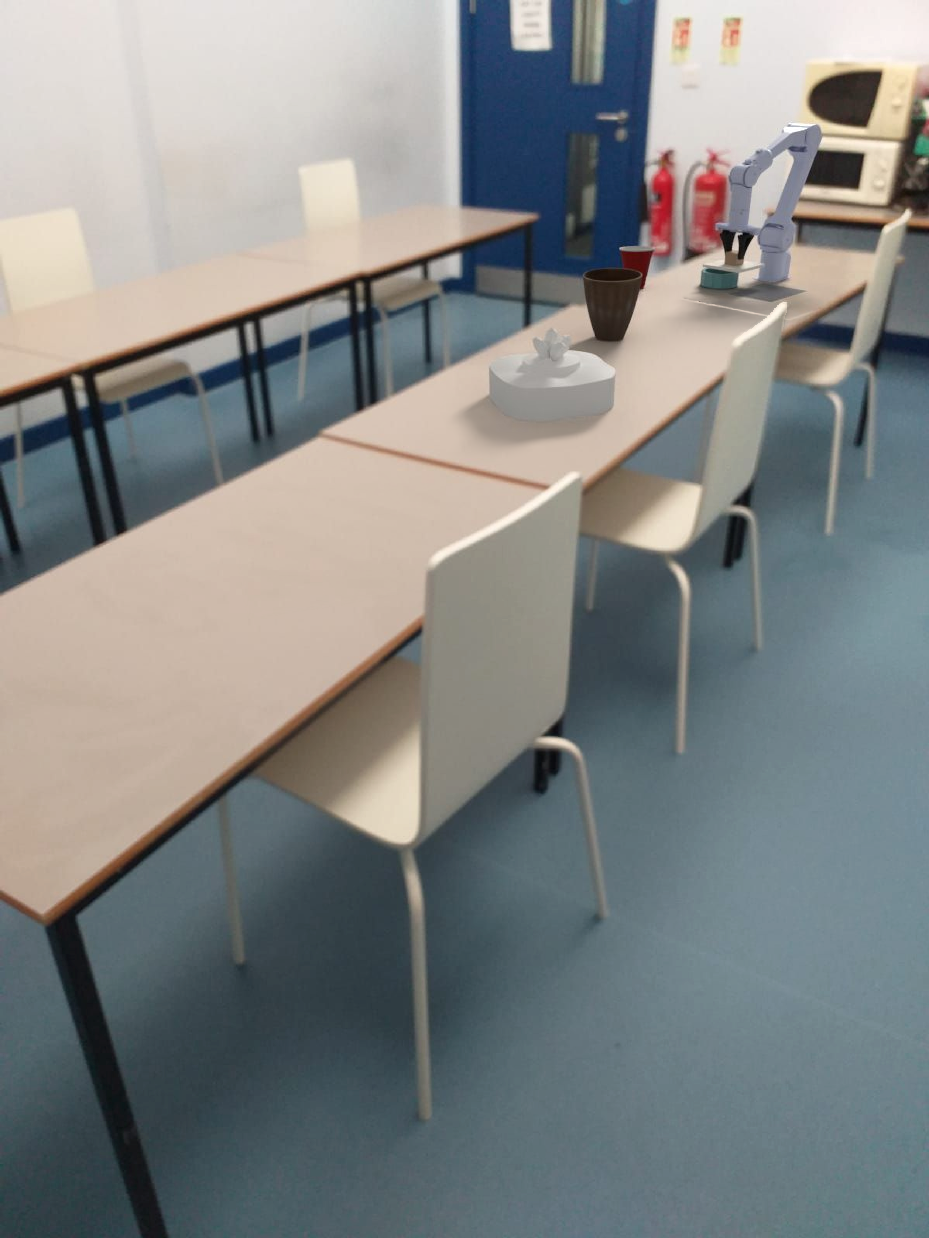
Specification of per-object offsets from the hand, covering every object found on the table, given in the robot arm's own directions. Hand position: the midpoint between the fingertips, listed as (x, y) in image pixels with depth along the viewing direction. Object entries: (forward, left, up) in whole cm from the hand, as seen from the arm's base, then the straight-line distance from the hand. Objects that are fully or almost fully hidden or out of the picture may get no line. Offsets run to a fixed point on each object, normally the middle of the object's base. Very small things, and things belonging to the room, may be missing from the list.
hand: (734, 258), depth 291 cm
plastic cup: (+17, -23, -9) cm, 30 cm away
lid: (0, 0, -2) cm, 2 cm away
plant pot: (+65, +10, -9) cm, 67 cm away
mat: (-2, +12, -9) cm, 15 cm away
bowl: (0, -4, -9) cm, 10 cm away
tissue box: (+111, +34, -9) cm, 117 cm away
